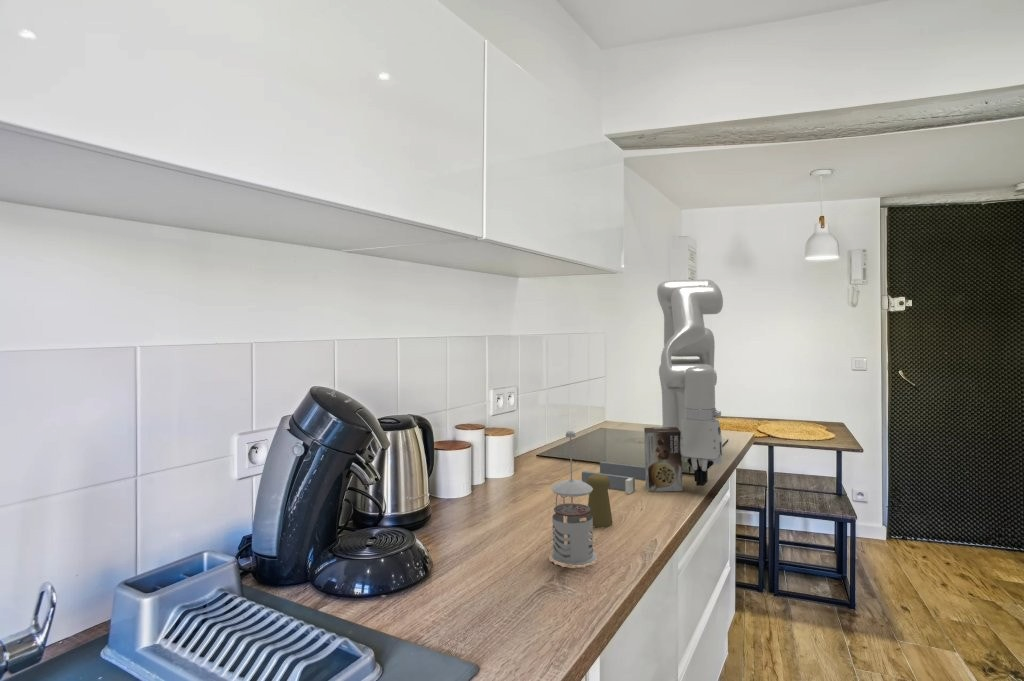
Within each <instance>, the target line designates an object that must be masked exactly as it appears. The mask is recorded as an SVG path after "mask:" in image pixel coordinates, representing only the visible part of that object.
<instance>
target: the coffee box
mask: <svg viewBox="0 0 1024 681" xmlns="http://www.w3.org/2000/svg"><path fill="white" fill-rule="evenodd" d="M643 429H644V463H645V464H644V467H645V473H646V480H645V487H646V489H647V491H648V492H649V491H651V492H683V488H684V487H683V461H682V459H681V458H682V457H681V454H680V434H681V431H680V430H679V429H678V428H677V427H663V426H661V427H659V426H658V427H644V428H643Z"/></svg>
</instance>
